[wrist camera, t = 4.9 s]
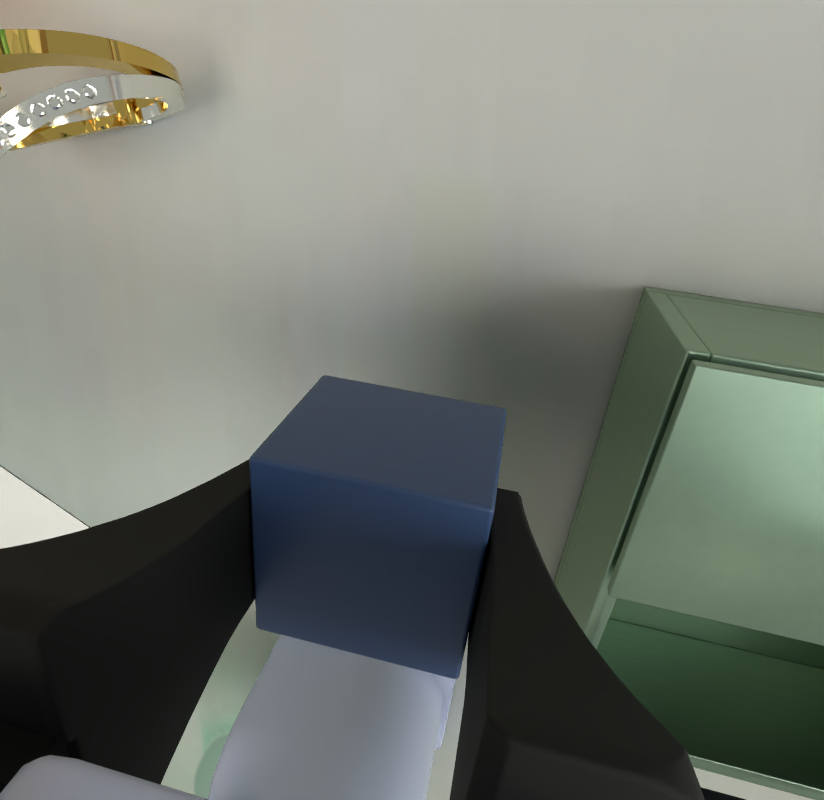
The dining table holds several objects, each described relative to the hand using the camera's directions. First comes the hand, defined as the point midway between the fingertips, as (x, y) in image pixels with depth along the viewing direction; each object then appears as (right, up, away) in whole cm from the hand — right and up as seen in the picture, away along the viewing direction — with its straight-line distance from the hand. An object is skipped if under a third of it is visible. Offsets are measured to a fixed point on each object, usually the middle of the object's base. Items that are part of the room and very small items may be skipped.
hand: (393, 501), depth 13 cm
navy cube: (0, +1, +1) cm, 1 cm away
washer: (+14, -2, +8) cm, 16 cm away
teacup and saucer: (-28, -7, +21) cm, 36 cm away
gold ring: (-9, +13, +7) cm, 17 cm away
